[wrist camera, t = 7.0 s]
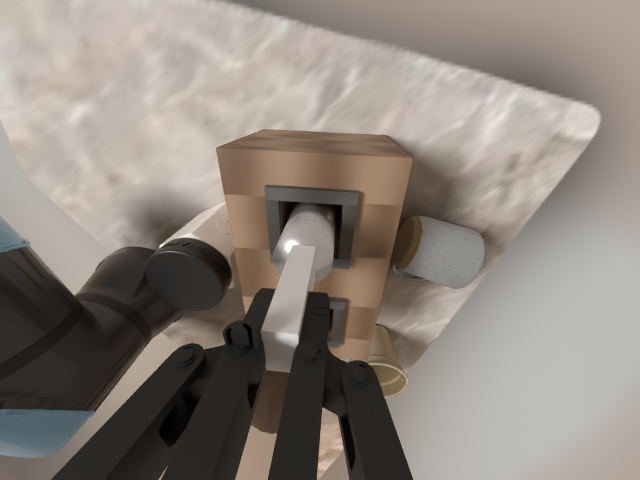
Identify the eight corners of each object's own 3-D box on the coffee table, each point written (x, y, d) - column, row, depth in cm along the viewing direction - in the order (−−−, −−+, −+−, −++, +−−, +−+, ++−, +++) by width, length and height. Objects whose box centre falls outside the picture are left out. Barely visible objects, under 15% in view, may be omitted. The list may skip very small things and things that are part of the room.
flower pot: (376, 356, 47) (381, 405, 40) (335, 337, 45) (333, 384, 38) (408, 330, 42) (422, 380, 35) (364, 308, 41) (369, 355, 33)
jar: (271, 226, 34) (239, 281, 24) (245, 262, 38) (209, 323, 27) (214, 188, 32) (152, 232, 22) (192, 230, 36) (131, 284, 25)
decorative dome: (340, 379, 52) (339, 434, 44) (289, 409, 61) (280, 460, 53) (266, 338, 47) (248, 391, 39) (222, 377, 56) (200, 428, 48)
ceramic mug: (407, 202, 31) (424, 232, 24) (467, 219, 31) (500, 252, 24) (377, 266, 36) (384, 304, 30) (428, 279, 37) (446, 319, 30)
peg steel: (299, 216, 26) (274, 281, 17) (299, 180, 24) (271, 232, 15) (335, 218, 26) (331, 286, 17) (338, 183, 24) (334, 237, 15)
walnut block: (275, 282, 39) (249, 352, 29) (263, 129, 28) (212, 149, 17) (361, 290, 39) (368, 364, 28) (386, 135, 27) (415, 160, 16)
